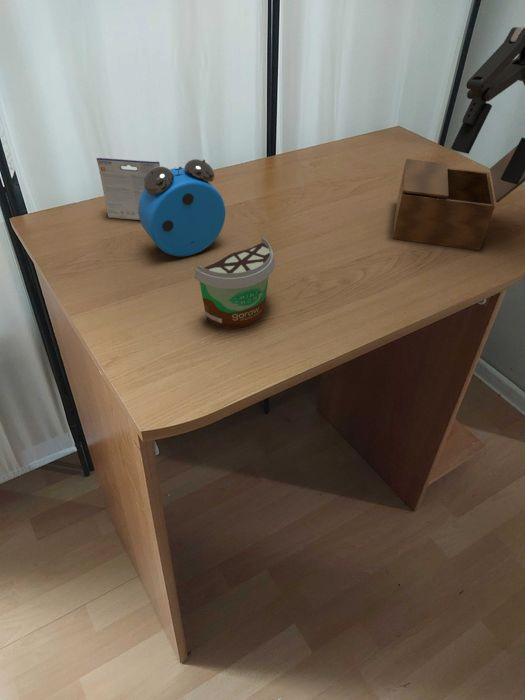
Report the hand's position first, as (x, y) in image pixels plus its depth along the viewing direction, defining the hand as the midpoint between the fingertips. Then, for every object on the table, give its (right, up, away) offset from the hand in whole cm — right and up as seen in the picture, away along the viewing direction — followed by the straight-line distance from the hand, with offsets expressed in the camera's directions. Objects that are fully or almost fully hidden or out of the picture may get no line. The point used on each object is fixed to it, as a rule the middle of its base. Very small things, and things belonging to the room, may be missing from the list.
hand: (485, 167), depth 78 cm
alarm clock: (-46, -10, +14) cm, 49 cm away
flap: (+9, +4, +11) cm, 14 cm away
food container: (-35, -22, +1) cm, 42 cm away
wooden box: (-1, -4, +21) cm, 21 cm away
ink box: (-56, -2, +21) cm, 59 cm away
